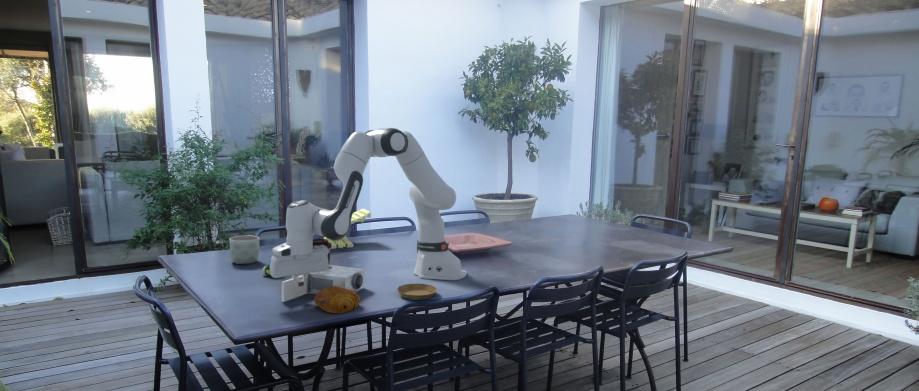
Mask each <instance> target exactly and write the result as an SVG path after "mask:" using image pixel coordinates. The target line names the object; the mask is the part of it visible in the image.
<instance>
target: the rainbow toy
mask: <svg viewBox="0 0 919 391" xmlns="http://www.w3.org/2000/svg"><path fill="white" fill-rule="evenodd" d="M261 269H262V270H261V273H262V274H263V276H265V277H266V276H267V277H268V276H269V275H270V260H269V262H268V263H266V266H265V265H264V267H263V268H261Z"/></svg>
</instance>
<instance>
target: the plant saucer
mask: <svg viewBox="0 0 919 391" xmlns="http://www.w3.org/2000/svg"><path fill="white" fill-rule="evenodd" d="M396 290H397V292H398V293H399V295H400V296H401V297H403V298H404V299H407V300H415V301H421V300H427V299H429V298H431V297H432V296H434V295H435V294H436V292H438V291H437V290H438V289H437V287H436V286H434V285H432V284H431V285H430V284H427V283H419V282H418V283H407V284H402V285H400V286H398V287H397V289H396Z"/></svg>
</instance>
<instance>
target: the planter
mask: <svg viewBox="0 0 919 391" xmlns="http://www.w3.org/2000/svg"><path fill="white" fill-rule="evenodd" d="M229 252H230V258H231V261H232V262H233V263H234V264H237V265H247V264H248V265H249V264H253V263H255V262H257V261H258V260H259V255H260V236H257V235H238V236H237V235H236V236H232V237H229Z"/></svg>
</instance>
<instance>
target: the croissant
mask: <svg viewBox="0 0 919 391" xmlns="http://www.w3.org/2000/svg"><path fill="white" fill-rule="evenodd" d="M313 300H314V303H315V304H316V305H317V307H318V308H320V309H321V310H322V311H325V312H327V313H331V314H344V313H348V312H351V311H352V310H355V309H357V308H358V306H359V303H360V302H361V297H360V296H359V294H358V293H357V292H356V293H355V292H354V291H352V290H349V289H346V288H341V287H336V286H333V287H328V288H325V289H323V290H320V291H319V292H318V293H317V294H315V296H314V299H313Z"/></svg>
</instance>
